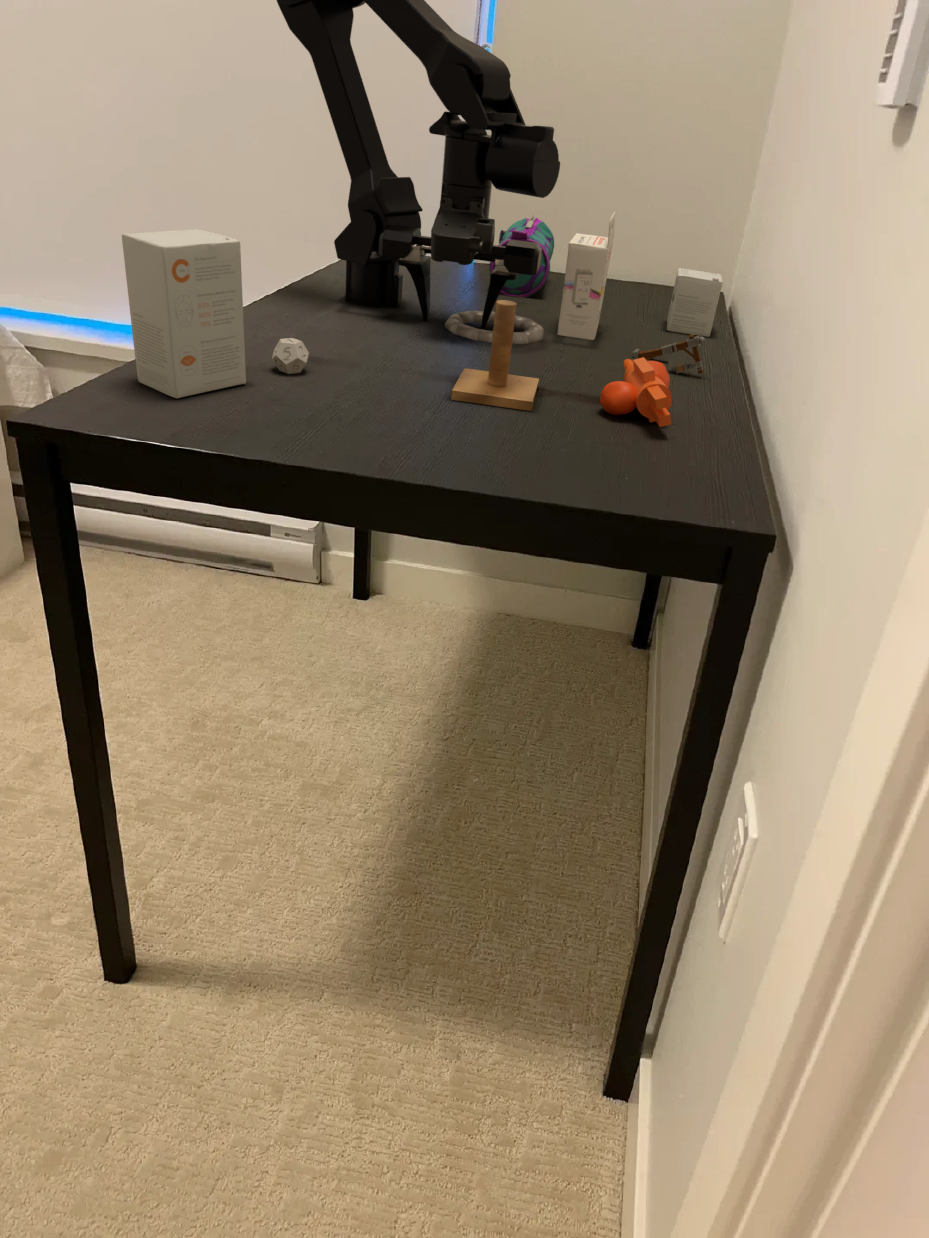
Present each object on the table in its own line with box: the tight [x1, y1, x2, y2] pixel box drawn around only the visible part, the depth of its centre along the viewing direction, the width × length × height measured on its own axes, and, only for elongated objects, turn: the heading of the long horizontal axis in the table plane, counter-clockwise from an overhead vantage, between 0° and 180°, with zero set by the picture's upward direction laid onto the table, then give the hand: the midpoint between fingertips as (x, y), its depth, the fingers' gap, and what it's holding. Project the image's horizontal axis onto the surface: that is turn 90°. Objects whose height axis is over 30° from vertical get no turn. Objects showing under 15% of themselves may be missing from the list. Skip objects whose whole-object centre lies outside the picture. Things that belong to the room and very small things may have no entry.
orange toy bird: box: [599, 357, 673, 428], centre depth 87 cm, size 5×8×12 cm
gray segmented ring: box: [444, 310, 545, 345], centre depth 109 cm, size 12×12×2 cm
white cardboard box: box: [665, 267, 724, 338], centre depth 121 cm, size 6×6×7 cm
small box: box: [121, 228, 247, 399], centre depth 81 cm, size 8×6×13 cm
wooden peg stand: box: [450, 299, 540, 412], centre depth 88 cm, size 8×8×9 cm
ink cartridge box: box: [556, 211, 616, 341], centre depth 109 cm, size 9×5×15 cm, turn 168°
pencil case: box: [488, 215, 555, 299], centre depth 133 cm, size 21×9×10 cm, turn 174°
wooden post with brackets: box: [633, 334, 706, 375], centre depth 103 cm, size 2×8×4 cm, turn 69°
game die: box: [271, 337, 310, 375], centre depth 89 cm, size 4×4×3 cm
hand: (454, 324), depth 109 cm, fingers open, 7 cm apart
